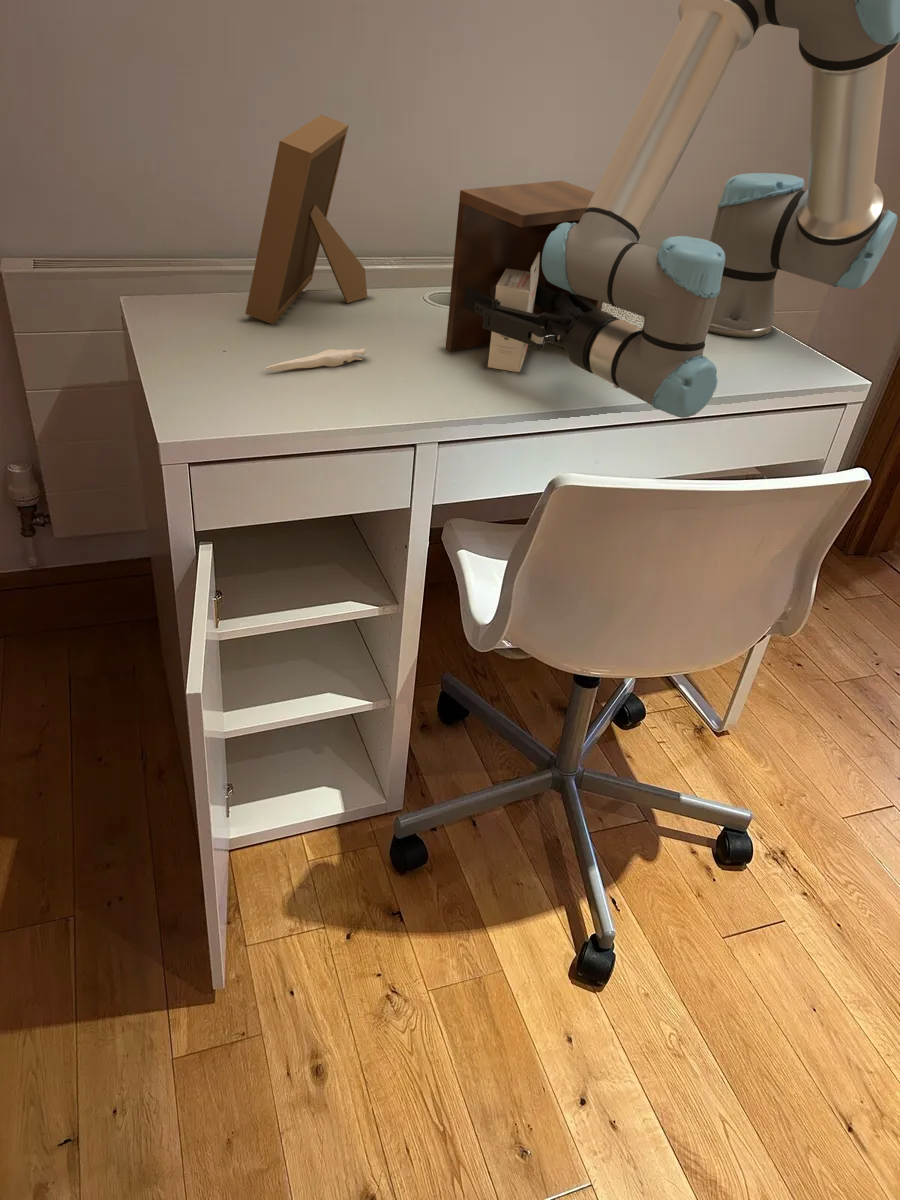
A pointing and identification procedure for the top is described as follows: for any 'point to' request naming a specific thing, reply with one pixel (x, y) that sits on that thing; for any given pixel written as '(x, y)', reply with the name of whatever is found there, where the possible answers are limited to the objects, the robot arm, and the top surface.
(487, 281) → the shelf
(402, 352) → the top surface
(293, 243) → the photo frame
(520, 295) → the ink cartridge box
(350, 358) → the beige tapered rod
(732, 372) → the top surface
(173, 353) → the top surface
